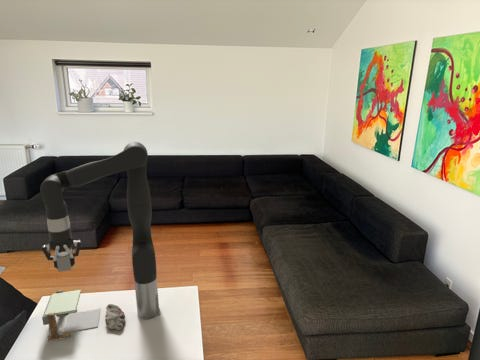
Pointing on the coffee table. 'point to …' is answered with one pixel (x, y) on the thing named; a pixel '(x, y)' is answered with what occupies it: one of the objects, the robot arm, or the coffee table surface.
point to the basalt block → (63, 261)
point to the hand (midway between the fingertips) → (65, 266)
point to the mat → (82, 320)
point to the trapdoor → (61, 304)
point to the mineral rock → (114, 317)
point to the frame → (55, 325)
